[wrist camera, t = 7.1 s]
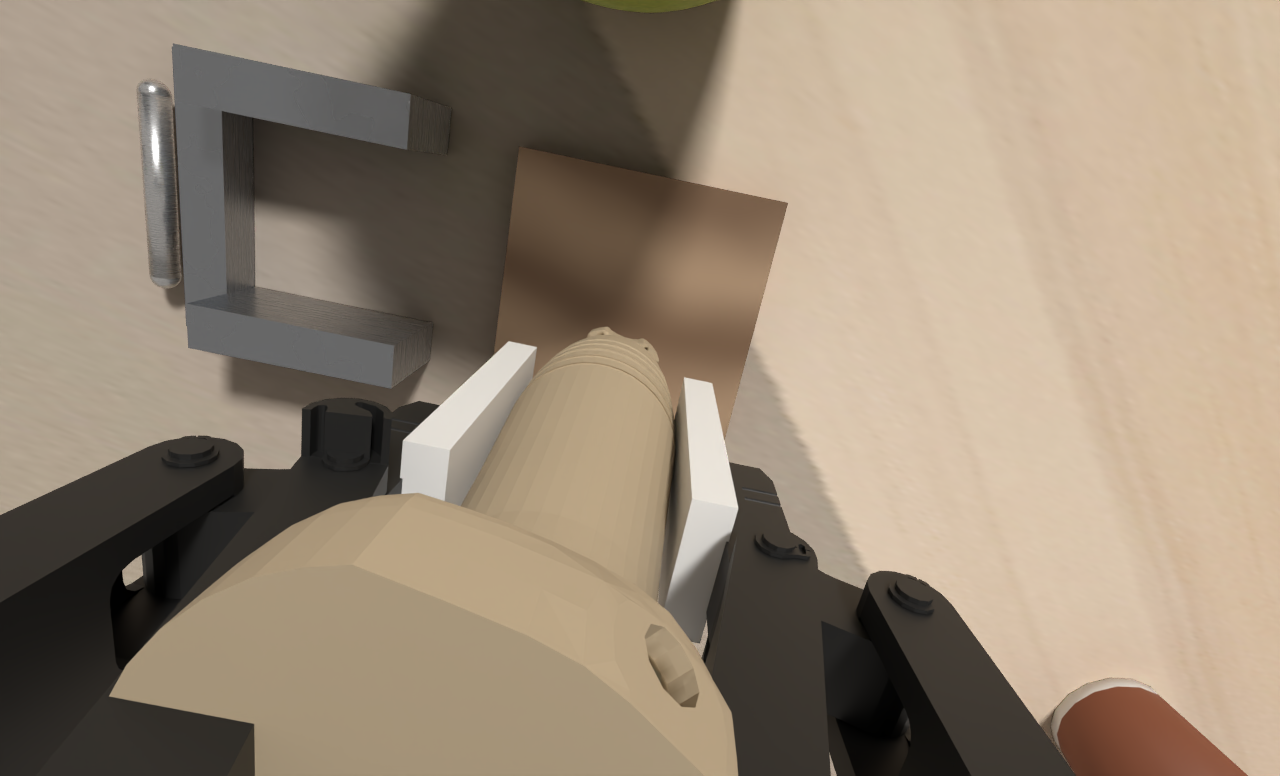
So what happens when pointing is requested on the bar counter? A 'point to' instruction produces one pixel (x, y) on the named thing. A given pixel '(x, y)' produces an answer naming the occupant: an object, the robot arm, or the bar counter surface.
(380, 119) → the vise
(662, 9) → the flower pot
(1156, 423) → the bar counter surface
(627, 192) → the walnut board
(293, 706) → the handle
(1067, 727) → the coffee cup
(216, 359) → the bar counter surface
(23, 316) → the bar counter surface
